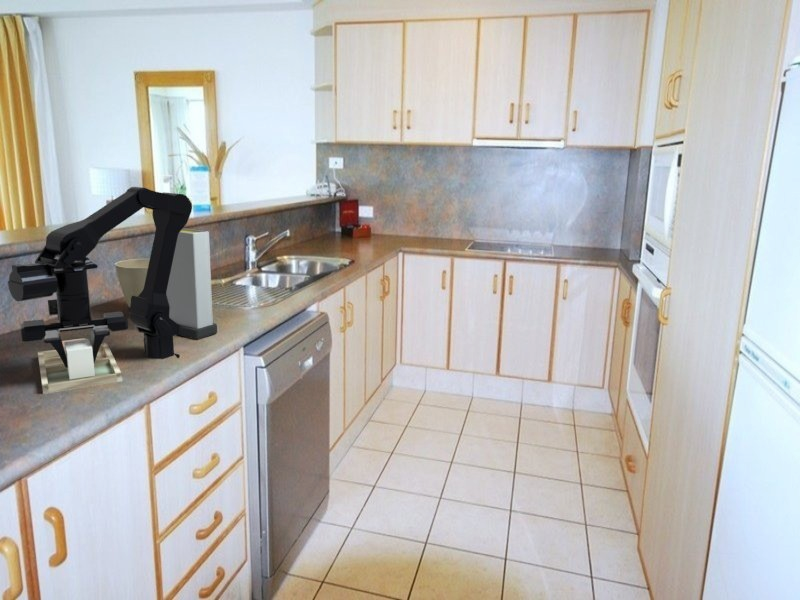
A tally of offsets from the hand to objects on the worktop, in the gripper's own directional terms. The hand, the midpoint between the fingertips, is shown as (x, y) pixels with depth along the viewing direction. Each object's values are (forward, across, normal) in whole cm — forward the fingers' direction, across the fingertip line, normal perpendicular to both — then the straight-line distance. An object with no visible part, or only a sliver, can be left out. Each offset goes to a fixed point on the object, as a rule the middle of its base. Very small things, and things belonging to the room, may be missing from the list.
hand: (80, 365), depth 116 cm
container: (+4, -28, -25) cm, 38 cm away
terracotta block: (+3, 0, -11) cm, 11 cm away
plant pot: (+4, -22, -49) cm, 54 cm away
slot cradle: (+4, 0, -6) cm, 7 cm away
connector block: (+2, 0, 0) cm, 2 cm away
